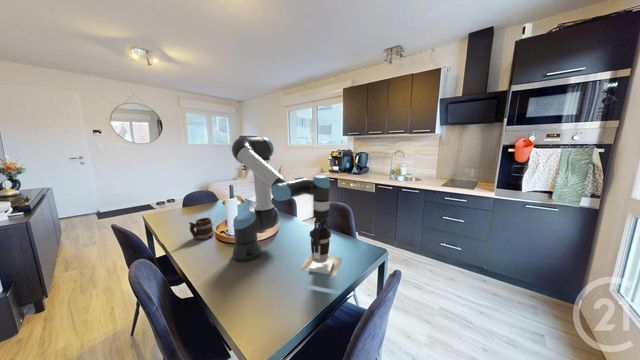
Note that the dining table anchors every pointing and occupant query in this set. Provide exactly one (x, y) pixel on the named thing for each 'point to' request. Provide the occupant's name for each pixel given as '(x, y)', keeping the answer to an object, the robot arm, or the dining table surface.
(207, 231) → the mug
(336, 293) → the dining table surface
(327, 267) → the tile
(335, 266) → the board
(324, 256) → the coffee cup
